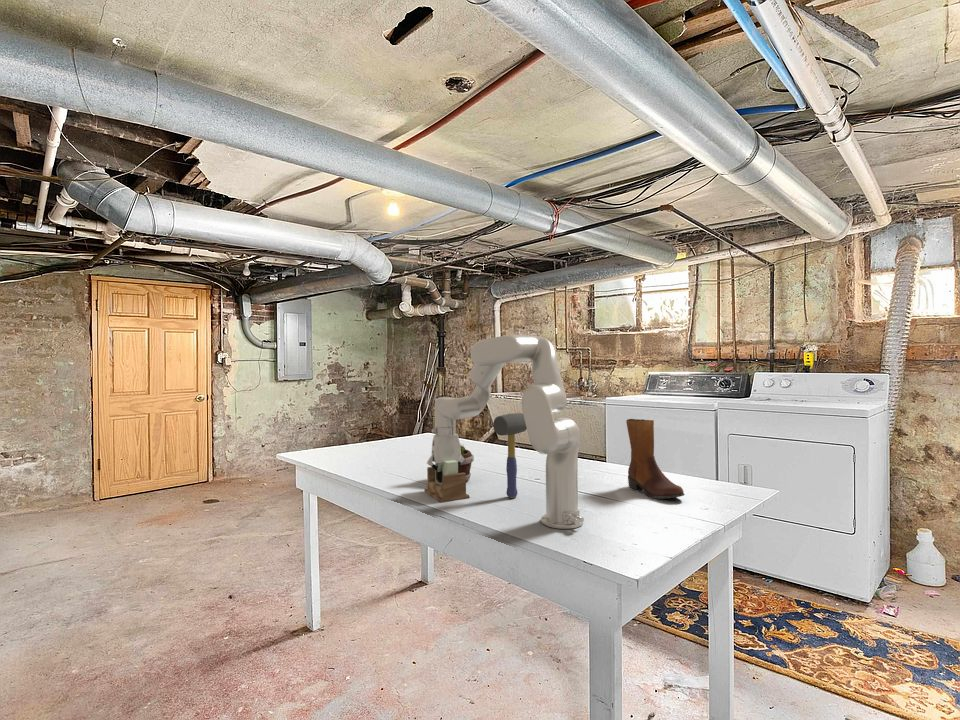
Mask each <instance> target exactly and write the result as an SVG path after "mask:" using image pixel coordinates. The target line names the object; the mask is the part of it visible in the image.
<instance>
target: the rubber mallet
mask: <svg viewBox="0 0 960 720" xmlns="http://www.w3.org/2000/svg"><path fill="white" fill-rule="evenodd" d="M492 423H493V424H492V425H493V426H492V427H493V431H494V432H495V434H496V435H497V436H501V437H502V436H507V458H506V476H507V477H506V478H507V482H506V485H507V487H506V496H507V497H508V498H509V499H516V498H517V496H518V489H517V473H518V468H517V467H518V465H517V459H516V442H515V441H516V440H515V439H516V438H515V435H517V434H520V433H525V432H526V431H527V428H526V423H525V419H524V415H523V412H520V413H519V412H517V413H516V412H515V413H507V414H502V415H499V416H497V417H495V418H494V420H493V422H492Z"/></svg>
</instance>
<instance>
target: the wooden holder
mask: <svg viewBox="0 0 960 720" xmlns="http://www.w3.org/2000/svg"><path fill="white" fill-rule="evenodd" d="M426 469H427V470H426V471H427V474H426V475H427V488H424V493H426V494H428V495H429V496H430V497H431V498H433V499H435V500H437V501H438V502H439V503H447V502H453V501H458V500H459V501H460V500H461V501H462V500H466V499H470V495H469V494H468V493H467V482H466V473H457V474H449V475H442V486H440V485H439V484H437V483H435V469H433V468H432V467H431V466H427V468H426Z"/></svg>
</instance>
